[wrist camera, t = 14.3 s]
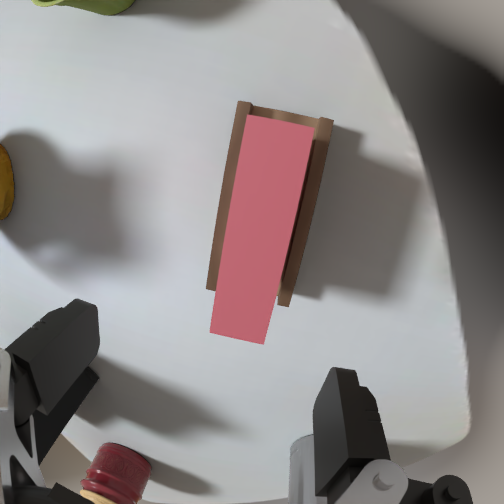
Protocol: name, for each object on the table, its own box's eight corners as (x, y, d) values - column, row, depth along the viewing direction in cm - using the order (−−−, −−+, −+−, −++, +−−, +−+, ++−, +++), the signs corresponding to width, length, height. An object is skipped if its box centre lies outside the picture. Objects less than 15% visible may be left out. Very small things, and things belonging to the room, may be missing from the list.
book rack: (329, 123, 29) (334, 120, 25) (289, 292, 35) (289, 307, 32) (242, 105, 29) (236, 100, 26) (212, 275, 35) (204, 288, 32)
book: (303, 136, 28) (314, 128, 17) (271, 278, 33) (263, 344, 22) (262, 128, 28) (247, 114, 17) (234, 270, 33) (209, 332, 22)
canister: (90, 440, 53) (59, 495, 36) (128, 441, 50) (96, 506, 33) (124, 472, 56) (101, 525, 39) (164, 474, 53) (142, 535, 36)
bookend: (57, 409, 51) (6, 481, 28) (23, 374, 49) (-36, 439, 26) (101, 377, 44) (31, 479, 22) (57, 330, 42) (-31, 419, 20)
